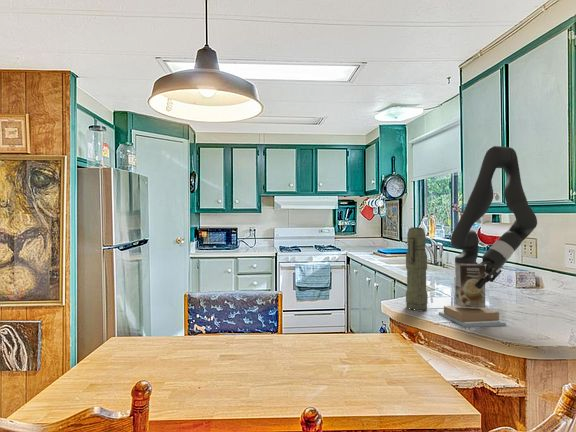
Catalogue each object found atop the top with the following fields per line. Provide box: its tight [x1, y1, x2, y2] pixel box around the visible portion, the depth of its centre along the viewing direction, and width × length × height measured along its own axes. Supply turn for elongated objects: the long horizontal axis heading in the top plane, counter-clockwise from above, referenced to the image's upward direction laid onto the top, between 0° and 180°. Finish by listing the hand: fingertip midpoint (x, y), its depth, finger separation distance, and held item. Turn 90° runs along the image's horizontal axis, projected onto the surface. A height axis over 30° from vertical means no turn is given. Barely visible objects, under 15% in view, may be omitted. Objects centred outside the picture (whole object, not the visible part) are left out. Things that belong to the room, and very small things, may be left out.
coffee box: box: [454, 263, 486, 308], centre depth 145 cm, size 9×6×16 cm
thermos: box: [405, 226, 429, 311], centre depth 163 cm, size 9×12×35 cm
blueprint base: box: [438, 305, 507, 328], centre depth 145 cm, size 18×16×4 cm
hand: (470, 285), depth 145 cm, fingers closed on coffee box, 7 cm apart
